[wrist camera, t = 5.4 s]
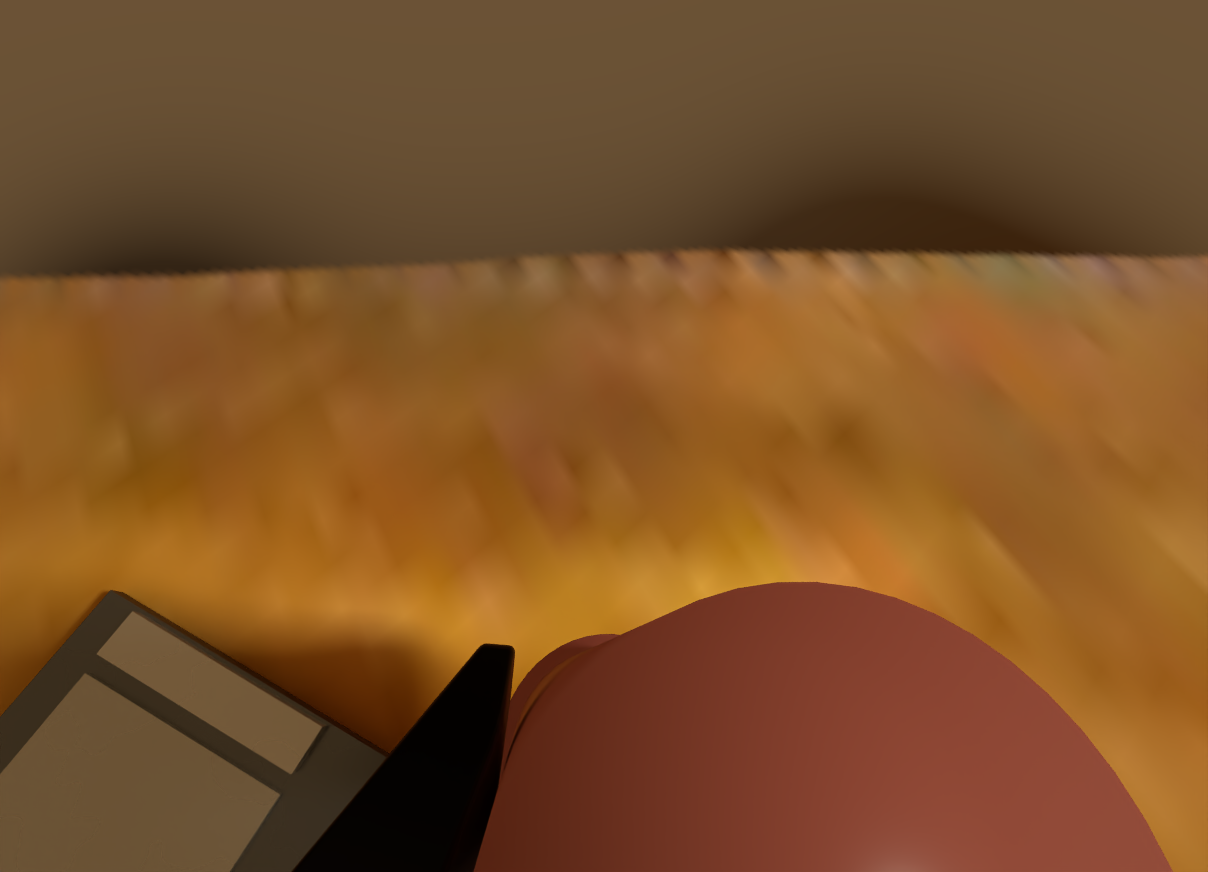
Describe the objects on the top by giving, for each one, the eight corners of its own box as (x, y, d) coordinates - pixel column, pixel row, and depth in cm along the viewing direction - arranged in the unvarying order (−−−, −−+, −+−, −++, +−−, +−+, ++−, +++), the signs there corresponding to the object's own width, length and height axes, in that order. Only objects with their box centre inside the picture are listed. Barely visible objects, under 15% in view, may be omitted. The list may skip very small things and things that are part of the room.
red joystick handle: (675, 900, 12) (1421, 2068, 2) (466, 828, 12) (139, 1601, 2) (723, 672, 14) (1237, 666, 4) (541, 610, 14) (567, 440, 4)
